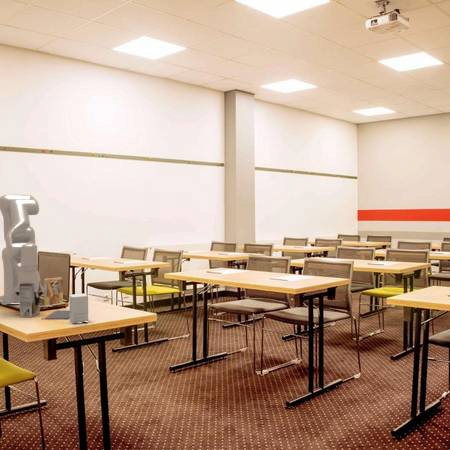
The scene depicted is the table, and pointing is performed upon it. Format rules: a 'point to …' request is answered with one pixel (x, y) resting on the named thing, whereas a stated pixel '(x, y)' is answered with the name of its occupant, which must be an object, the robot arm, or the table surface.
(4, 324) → the table surface
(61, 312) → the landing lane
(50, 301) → the candy box
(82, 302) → the supplement box
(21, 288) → the coffee box
